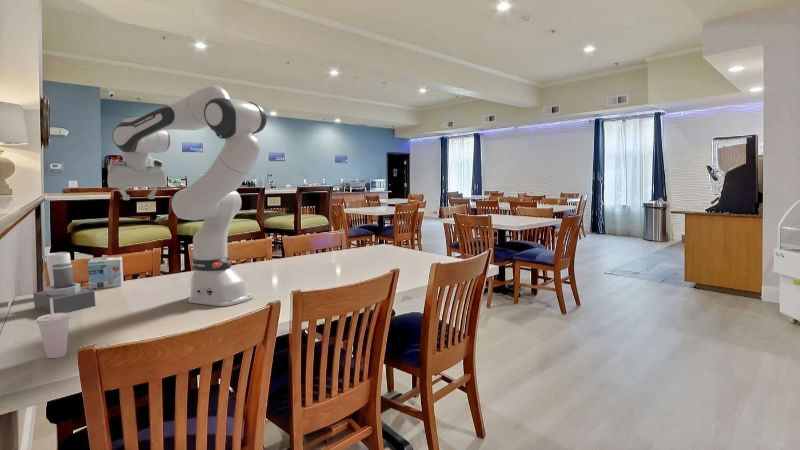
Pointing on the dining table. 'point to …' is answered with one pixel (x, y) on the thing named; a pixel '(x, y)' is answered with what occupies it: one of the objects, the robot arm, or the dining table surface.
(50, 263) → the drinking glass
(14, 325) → the dining table surface
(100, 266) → the light bulb box
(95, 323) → the dining table surface
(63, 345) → the smoothie
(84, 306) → the camera body
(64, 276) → the lens
